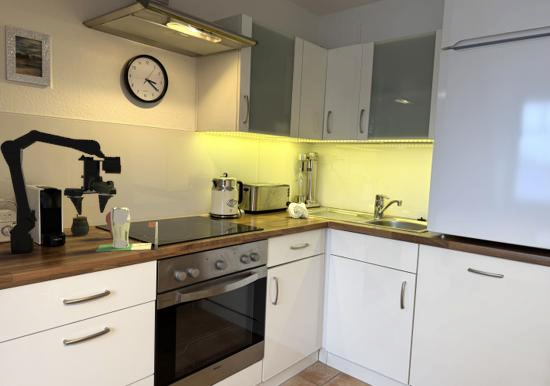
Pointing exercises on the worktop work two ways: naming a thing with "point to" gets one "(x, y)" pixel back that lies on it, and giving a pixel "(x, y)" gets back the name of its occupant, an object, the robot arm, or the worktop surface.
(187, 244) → the worktop surface
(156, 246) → the putting mat
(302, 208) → the white lumpy piece
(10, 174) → the robot arm
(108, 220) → the light bulb
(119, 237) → the beer glass
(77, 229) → the mate gourd
